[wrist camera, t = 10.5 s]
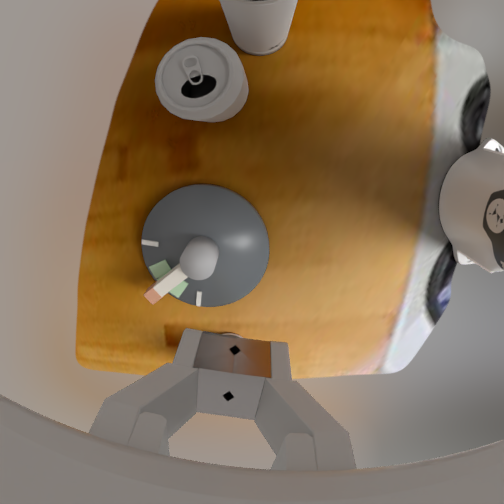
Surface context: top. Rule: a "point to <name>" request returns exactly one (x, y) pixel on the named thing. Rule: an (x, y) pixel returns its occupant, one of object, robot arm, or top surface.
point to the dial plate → (215, 227)
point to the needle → (187, 267)
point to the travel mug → (259, 23)
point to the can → (202, 80)
